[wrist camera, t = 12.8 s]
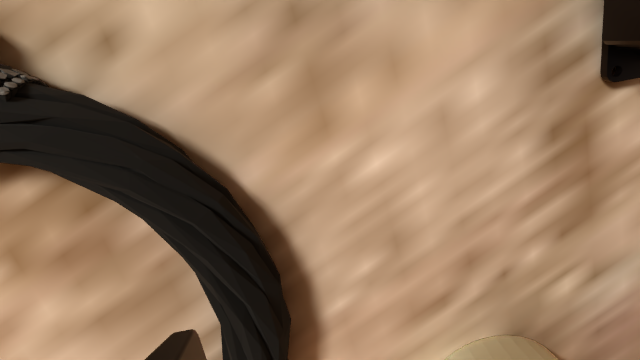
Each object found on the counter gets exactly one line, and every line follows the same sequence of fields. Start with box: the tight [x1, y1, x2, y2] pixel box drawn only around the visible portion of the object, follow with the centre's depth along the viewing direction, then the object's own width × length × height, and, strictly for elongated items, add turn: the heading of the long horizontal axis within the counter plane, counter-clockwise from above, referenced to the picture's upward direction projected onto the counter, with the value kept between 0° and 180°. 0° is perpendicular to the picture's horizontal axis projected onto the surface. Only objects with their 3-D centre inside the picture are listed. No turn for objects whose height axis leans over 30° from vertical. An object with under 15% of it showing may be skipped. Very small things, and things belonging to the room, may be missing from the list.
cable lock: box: [0, 64, 291, 360], centre depth 21 cm, size 28×4×30 cm
